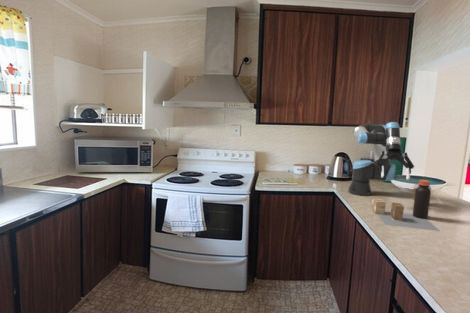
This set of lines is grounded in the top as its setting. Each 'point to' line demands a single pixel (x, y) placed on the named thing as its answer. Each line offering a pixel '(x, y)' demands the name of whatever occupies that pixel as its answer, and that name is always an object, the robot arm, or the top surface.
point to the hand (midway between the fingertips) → (395, 178)
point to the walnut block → (397, 211)
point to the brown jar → (417, 187)
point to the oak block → (378, 206)
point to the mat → (408, 221)
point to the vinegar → (422, 200)
